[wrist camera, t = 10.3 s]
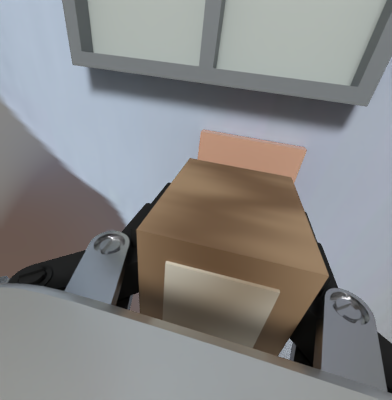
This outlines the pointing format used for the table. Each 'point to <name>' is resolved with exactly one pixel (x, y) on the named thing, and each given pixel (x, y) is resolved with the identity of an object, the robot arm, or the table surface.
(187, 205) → the brown labeled box
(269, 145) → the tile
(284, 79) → the cubby strip
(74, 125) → the table surface
